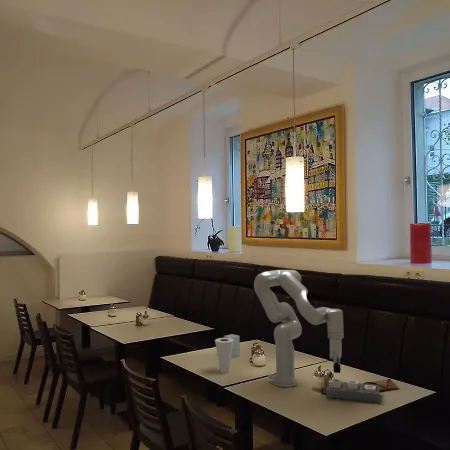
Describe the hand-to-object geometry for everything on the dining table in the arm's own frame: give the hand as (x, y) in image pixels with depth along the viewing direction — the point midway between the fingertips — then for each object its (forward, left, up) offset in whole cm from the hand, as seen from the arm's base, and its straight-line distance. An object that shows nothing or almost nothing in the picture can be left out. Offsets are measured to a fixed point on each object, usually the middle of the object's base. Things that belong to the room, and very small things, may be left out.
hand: (337, 372), depth 245 cm
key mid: (+7, 0, -8) cm, 11 cm away
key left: (-1, 0, -8) cm, 8 cm away
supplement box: (-71, +54, -11) cm, 90 cm away
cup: (-65, +21, -11) cm, 69 cm away
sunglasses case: (+20, +15, -12) cm, 28 cm away
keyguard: (+7, 0, -11) cm, 13 cm away
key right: (+15, 0, -10) cm, 18 cm away
